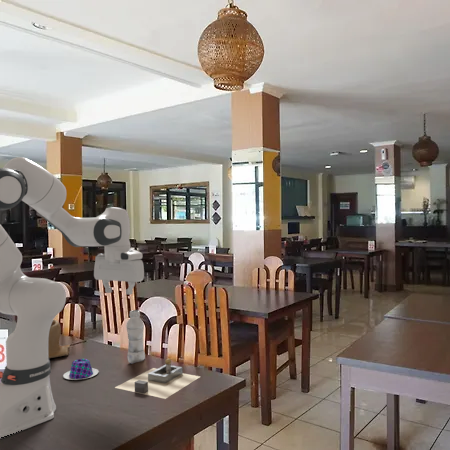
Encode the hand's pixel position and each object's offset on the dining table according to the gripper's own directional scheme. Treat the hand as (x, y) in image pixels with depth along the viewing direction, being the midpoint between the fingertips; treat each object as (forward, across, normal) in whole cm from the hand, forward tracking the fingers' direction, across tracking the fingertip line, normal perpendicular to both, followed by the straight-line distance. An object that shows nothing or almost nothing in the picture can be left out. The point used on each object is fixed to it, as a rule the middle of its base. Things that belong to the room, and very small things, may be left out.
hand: (118, 293), depth 155 cm
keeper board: (+29, +18, -2) cm, 34 cm away
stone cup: (+29, -40, +4) cm, 50 cm away
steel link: (+28, +17, +3) cm, 33 cm away
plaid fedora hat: (+30, -14, -5) cm, 33 cm away
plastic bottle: (+29, -4, +13) cm, 32 cm away
